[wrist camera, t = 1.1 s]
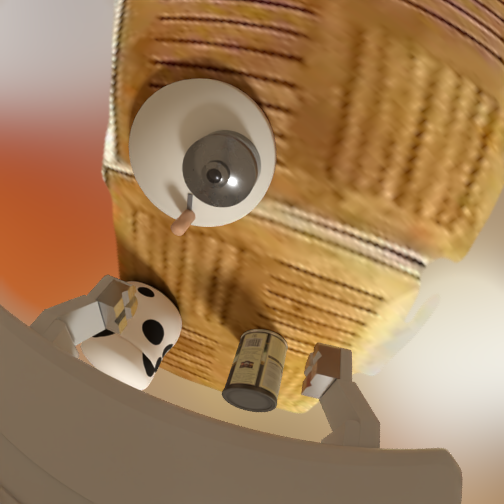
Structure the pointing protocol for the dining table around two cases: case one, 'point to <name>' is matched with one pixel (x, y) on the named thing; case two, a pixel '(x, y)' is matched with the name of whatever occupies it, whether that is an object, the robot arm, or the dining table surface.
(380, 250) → the dining table surface
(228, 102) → the crank wheel
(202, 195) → the iron cover
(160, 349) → the milk container
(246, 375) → the coffee can
